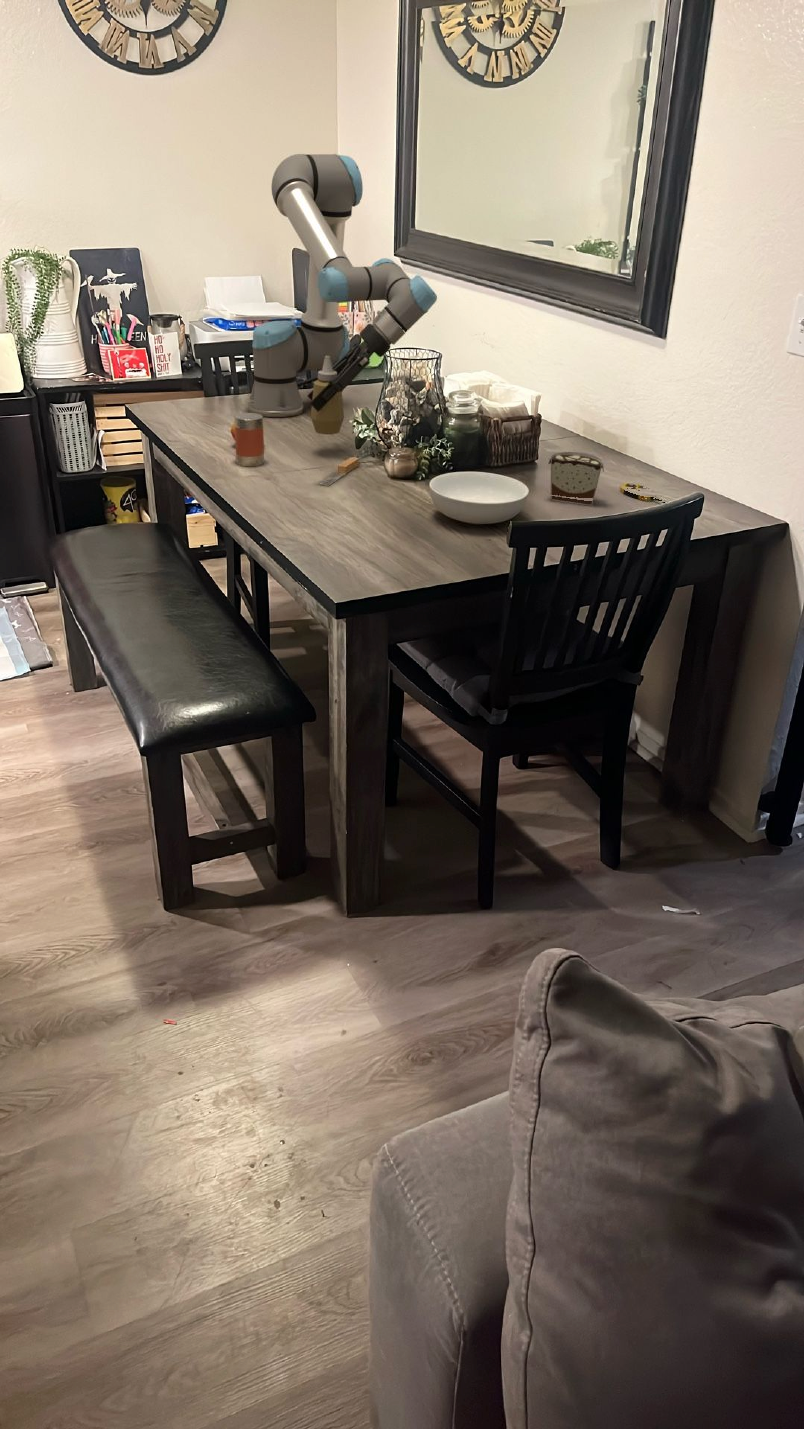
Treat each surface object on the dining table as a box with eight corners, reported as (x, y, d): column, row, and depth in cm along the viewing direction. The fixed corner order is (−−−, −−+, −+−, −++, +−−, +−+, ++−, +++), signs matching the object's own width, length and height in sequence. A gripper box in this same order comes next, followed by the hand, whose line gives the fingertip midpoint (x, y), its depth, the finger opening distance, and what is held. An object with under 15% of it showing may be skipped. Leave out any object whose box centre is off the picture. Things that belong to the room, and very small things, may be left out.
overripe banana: (631, 480, 247) (680, 498, 237) (630, 488, 248) (678, 506, 238) (616, 483, 245) (665, 501, 234) (615, 491, 246) (663, 510, 235)
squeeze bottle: (310, 427, 265) (310, 352, 256) (343, 427, 266) (344, 353, 257) (311, 436, 258) (310, 359, 249) (344, 436, 259) (345, 360, 250)
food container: (603, 499, 241) (609, 455, 236) (598, 507, 235) (604, 462, 230) (549, 491, 244) (554, 448, 239) (544, 499, 239) (548, 455, 234)
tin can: (244, 457, 259) (242, 411, 253) (269, 460, 257) (268, 414, 251) (230, 464, 253) (228, 417, 248) (256, 468, 251) (254, 421, 246)
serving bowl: (459, 540, 214) (461, 507, 211) (410, 508, 230) (411, 477, 227) (545, 527, 223) (548, 495, 219) (492, 497, 239) (494, 467, 235)
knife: (350, 464, 257) (350, 456, 256) (359, 465, 256) (359, 458, 255) (318, 484, 242) (318, 476, 241) (328, 486, 241) (328, 478, 240)
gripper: (365, 314, 259) (298, 382, 264) (376, 330, 242) (304, 402, 248) (386, 337, 262) (320, 404, 268) (398, 354, 246) (327, 425, 251)
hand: (312, 403), depth 258 cm, fingers closed on squeeze bottle, 6 cm apart
